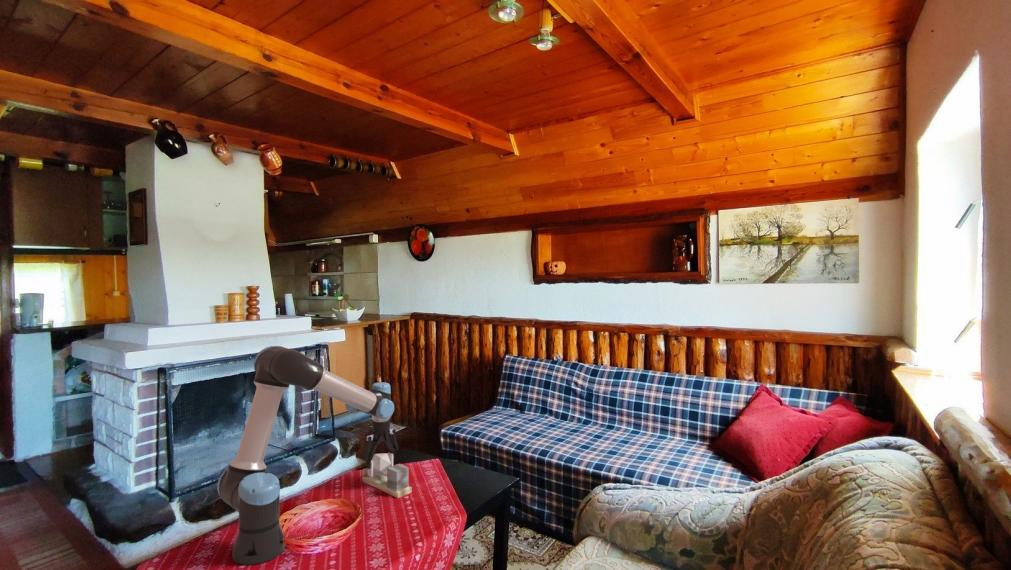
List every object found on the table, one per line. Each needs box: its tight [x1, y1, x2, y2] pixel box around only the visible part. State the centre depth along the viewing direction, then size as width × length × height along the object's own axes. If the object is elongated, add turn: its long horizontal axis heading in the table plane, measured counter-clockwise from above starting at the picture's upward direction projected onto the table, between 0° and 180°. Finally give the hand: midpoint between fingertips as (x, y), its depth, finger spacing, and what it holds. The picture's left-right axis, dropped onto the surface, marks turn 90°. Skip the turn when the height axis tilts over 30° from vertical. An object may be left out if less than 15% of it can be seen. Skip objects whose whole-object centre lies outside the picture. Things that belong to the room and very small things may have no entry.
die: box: [372, 453, 391, 476], centre depth 209 cm, size 8×9×10 cm
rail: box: [361, 463, 413, 499], centre depth 207 cm, size 7×24×10 cm, turn 51°
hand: (380, 471), depth 209 cm, fingers closed on die, 10 cm apart
